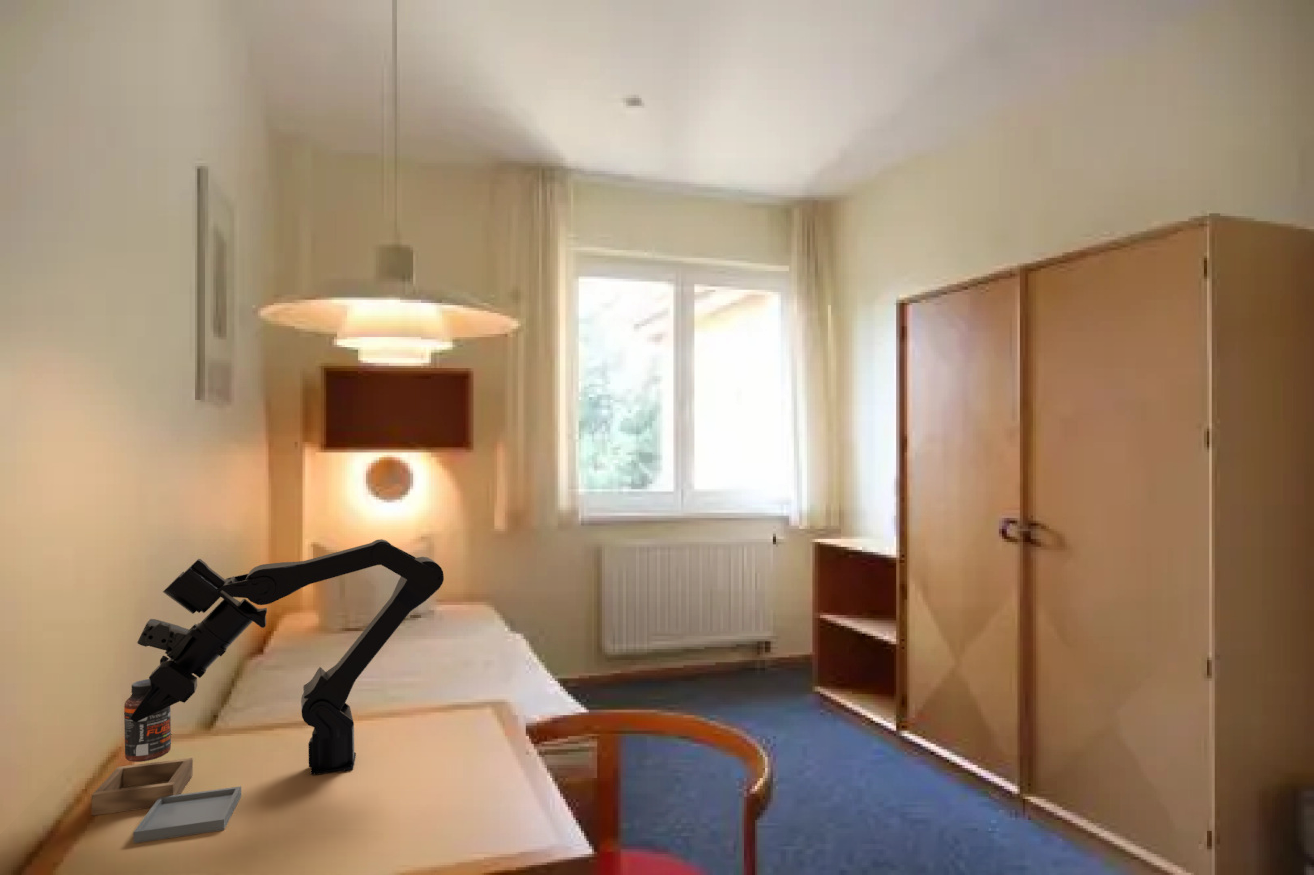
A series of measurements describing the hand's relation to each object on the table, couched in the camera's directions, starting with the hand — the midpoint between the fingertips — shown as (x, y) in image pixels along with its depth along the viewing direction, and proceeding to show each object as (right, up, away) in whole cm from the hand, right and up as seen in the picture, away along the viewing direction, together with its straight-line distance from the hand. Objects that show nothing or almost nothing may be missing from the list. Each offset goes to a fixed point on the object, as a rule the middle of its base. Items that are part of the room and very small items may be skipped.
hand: (136, 713), depth 118 cm
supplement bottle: (+1, -7, +1) cm, 7 cm away
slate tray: (+12, -13, -6) cm, 19 cm away
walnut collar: (0, -13, +2) cm, 13 cm away
